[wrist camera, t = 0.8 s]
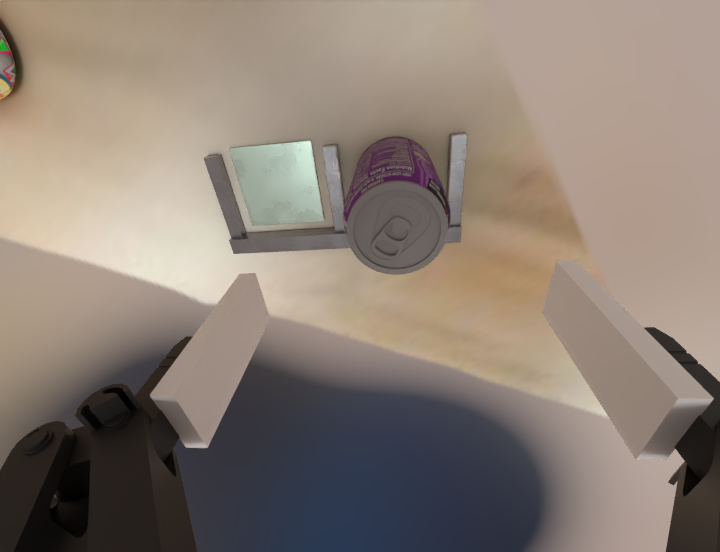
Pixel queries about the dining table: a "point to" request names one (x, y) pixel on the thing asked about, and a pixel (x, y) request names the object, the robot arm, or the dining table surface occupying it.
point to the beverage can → (396, 208)
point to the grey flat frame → (302, 195)
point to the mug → (6, 68)
